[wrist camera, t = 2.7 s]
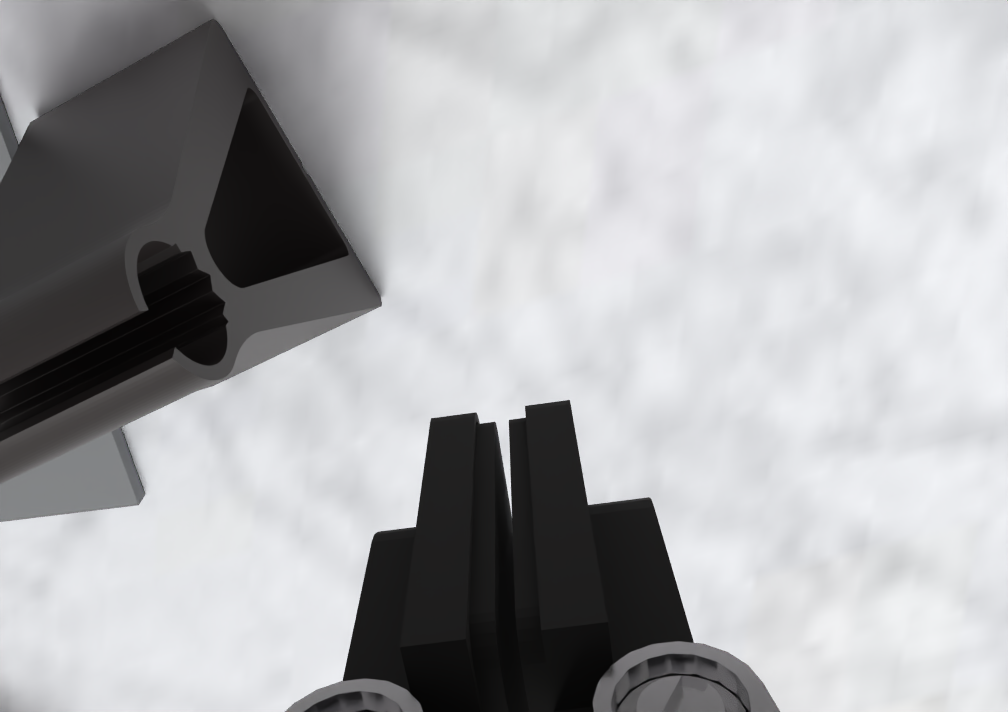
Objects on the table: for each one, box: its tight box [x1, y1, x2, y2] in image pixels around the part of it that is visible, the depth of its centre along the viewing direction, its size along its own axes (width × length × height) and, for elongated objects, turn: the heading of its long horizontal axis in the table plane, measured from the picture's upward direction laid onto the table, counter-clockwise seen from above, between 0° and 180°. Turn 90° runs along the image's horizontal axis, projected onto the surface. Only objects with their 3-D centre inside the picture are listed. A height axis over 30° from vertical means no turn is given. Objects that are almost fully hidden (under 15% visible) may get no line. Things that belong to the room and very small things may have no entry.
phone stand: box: [0, 19, 382, 484], centre depth 21 cm, size 9×6×12 cm, turn 26°
